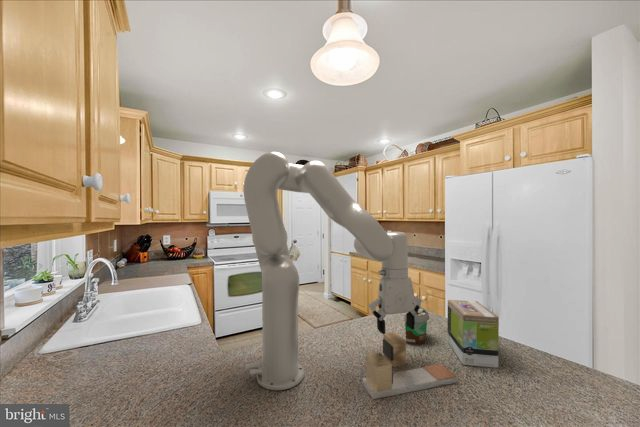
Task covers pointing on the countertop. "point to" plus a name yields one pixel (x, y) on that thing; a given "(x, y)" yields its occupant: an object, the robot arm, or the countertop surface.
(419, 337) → the food container
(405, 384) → the rail
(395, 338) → the block
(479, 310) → the tea box
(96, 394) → the countertop surface
